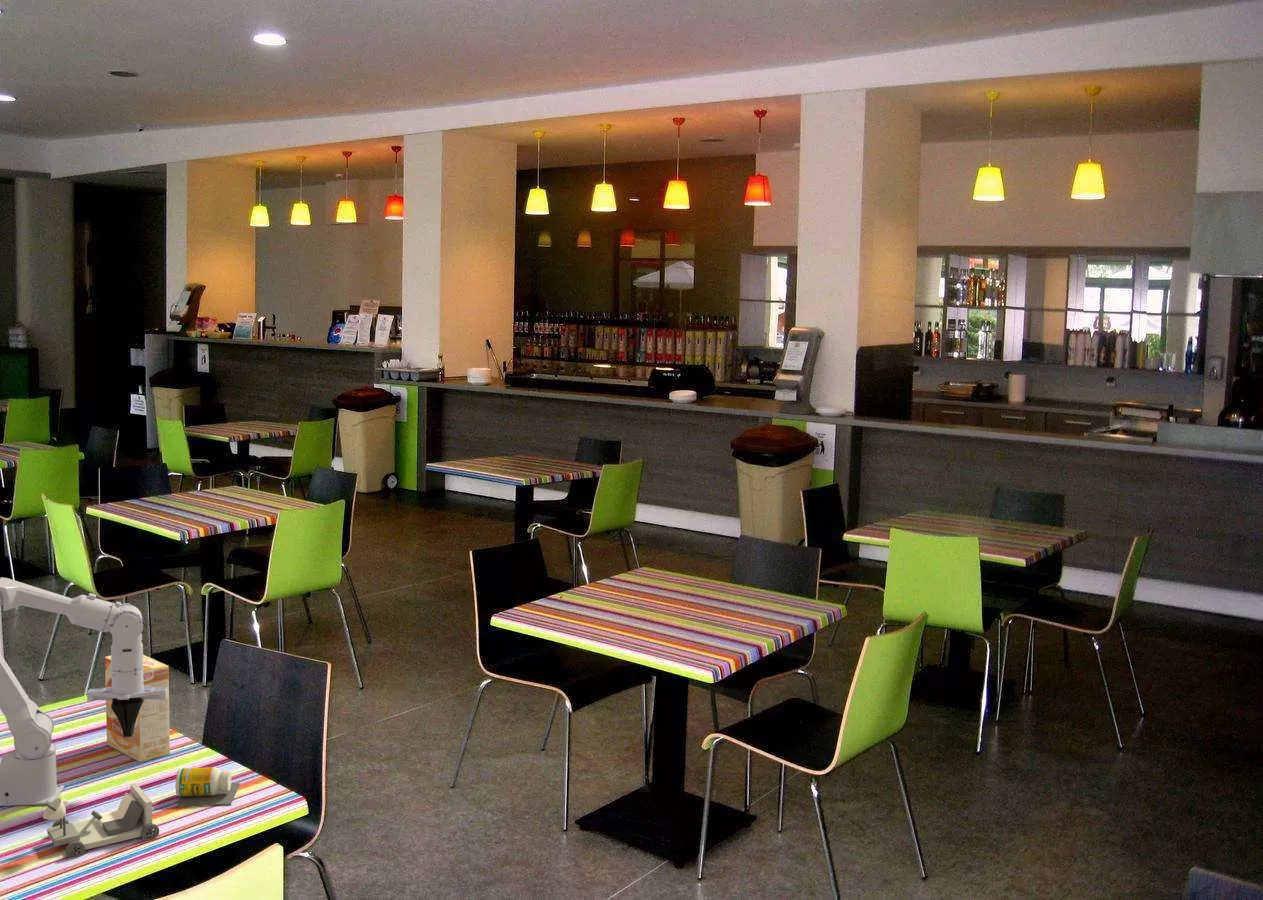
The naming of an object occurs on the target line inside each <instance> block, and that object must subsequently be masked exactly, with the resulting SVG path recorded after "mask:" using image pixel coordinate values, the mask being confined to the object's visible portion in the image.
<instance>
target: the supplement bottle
mask: <svg viewBox="0 0 1263 900" xmlns="http://www.w3.org/2000/svg"><path fill="white" fill-rule="evenodd" d="M174 783H175V795H176V796H177V797H179V798H180V797H186V796H214V795H216V794H217V793H218V792H219V790H221V791H223V792H228V791H230V788H231V783H232V770H229V769H223V770H222V771H221V770H220V768H218V767H216V766H213V767H211V766H210V767H184V768H183V767H182V768H179V769H178V770H177V772H176V777H175V782H174Z"/></svg>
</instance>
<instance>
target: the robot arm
mask: <svg viewBox="0 0 1263 900" xmlns="http://www.w3.org/2000/svg"><path fill="white" fill-rule="evenodd" d="M0 606H2V607H3V610H2V611H3V612H5V611H9V610H12V609H15V608H17V607H21V606H23V607H28V608H32V609H36V610H41V611H46V612H49V613H53V614H54V613H55V614H59V615H64V616H66V617H67V619H68V620H69V622H70V624H72V625H76V626H80V627H84V628H87V629H91V630H95V631H97V632H98V631H99V632H102V633H110V634H111V636H112V644H111V646H110V655H111V673H112V687H108V688H106V687H102V688H101V687H100V688H89V689H88V690H87V692H86V699H87V700H86V701H87V702H88V703H90V702H92V703H93V702H94V701H106V700H112V705H111V708H112V710H113V711H114V713H115V715H116V716H117V718H118V720H119V722H120V725H121V728H122V731H123V735H124V737H131V736H132V735H133V734H134V727H135V722H136V719H137V716H138V713H139V710H140V708H141V706H142V704H143V701H144V699H160V700H166V699H167V697H168V687H151V686H144V684H143V655H144V651H143V650H144V645H143V642H142V641H143V634H142V632H143V630H144V624H143V615H142V612H141V611H140V609H139V608H138V607H136V606H135V605H133V604H131V603H127V602H126V603H122V602H121V601H116V602H112V601H111V602H110V601H107V600H104V599H100V598H97V595H96V594H94V593H88V595H85V594H80V595H78V596H75V597H73V598H71V597H69V596H64V595H62V594H59V593H56V592H52V591H49V590H46V589H43V588H39V587H38V586H33V585H30V584H27V583H24V582H21V581H18V580H14V579H12V578H8V577H2V576H1V577H0ZM0 711H1V712H2V713H3V715H4V717H5V720H6V722H7V723H6V724H7V726H8V730H9V731H10V733H11V734H12V737H13V747H14V750H13V752H6V753H4V754H3V755H2V757H1V760H0V807H1V806H2V807H7V806H9V807H10V806H33V805H34V806H37V805H45V804H46V803H47V804H50V803H51V802H52V801H54V800H55V799H57V798H59V795H60V794H61V793H62V792H63V791H64V789H65V785H58V780H57V779H58V778H57V777H58V776H57V751H56V750H57V747H56V745H54V744H53V743H52V740H53V738H52V735H53V733H54V730H55V723H54V720H53V718H52V717H51V715H50V714H48V713H47V712H44V711H43V710H42V709H40V707H39V706H38V705H37V704H36V702H34V701H33V700H31V699H30V697H29V696H28V694H27V693H26V691H25V690H24V688H23V687H22V685H21V683H20V682H19V680H18V678H17V677H16V676H15V674H14V673H13V671H12V669H11V667H10V666H9V665H8V663H7V661H6V660H5V658H4V656H3V655H2V654H1V653H0Z"/></svg>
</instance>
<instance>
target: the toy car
mask: <svg viewBox="0 0 1263 900" xmlns="http://www.w3.org/2000/svg"><path fill="white" fill-rule="evenodd" d="M44 806H46V809H45V810H44V812H43V814H42V815H43V816H42V817H43V819H44V820H56V821H54V822H53V824H52V825H51V826H50V827H46V829H47V833H46V834H47V835H48V837H49V839H50V841H51V842H52V844H53V846H54V847H58V846H61V845H62V846H63V845H66V844H68V845H67V846H66V848H65V855H66V856H67V858H68V859H74V858H76V857H77V858H78V857H81V856H83V855H84V854H85V852H86V850H91V849H93V848H98V847H102V846H105V845H106V846H107V845H111V844H114V843H118V842H123V841H127V840H132V839H135V838H136V839H137V838H139V837H141V838H142V839H143V840H144V841H148V840H147V839H149V840H153V839H152V838H154V839H157V838H158V836H159V835H160V828H159V826H158V825H157V824H156V823H153V801H152V800H151V799H150V798H149V796H148V795H147V794H146V793H145V792H144V790H143V789H142V788H141V787H140V786H139V785H138V784H137V783H136V782H135V783H130V793H128V792H125V794H124V795H123V797H122V799H121V801H120V804H119V806H118V807H117V810H113V811H109V812H104V813H98V812H97V811H96V810H92V811H91V814H90V815H91V816H92V818H90V819H87V820H86V819H85V820H81V821H77V822H74V823H73V822H70V821H69V820H67V819H66V813H67V811H66V810H67V809H66V807H68V800H67V798H63V799H62V798H61V797H57V798H56V799H55V800H54V801H52V802H51V803H50V804H47V803H46V804H44ZM156 837H157V838H156Z"/></svg>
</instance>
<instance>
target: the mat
mask: <svg viewBox="0 0 1263 900" xmlns="http://www.w3.org/2000/svg"><path fill="white" fill-rule="evenodd" d="M240 785H241V783H240V782H231V788H230V791H228V792H223V791H221V790H219V792H218V793H217V794H216V795H214V796H186V797H179V799H178V800H177V801H178V802H177V803H176V805H175V808H187V807H188V808H190V807H189V806H194V807H204V806H203V805H221V806H232V804H233V802H232V801H234V800H235V797H234V796H236V794H237V791H238V790H237V789H239V788H240ZM231 803H232V804H231ZM181 806H182V807H181ZM183 806H184V807H183Z"/></svg>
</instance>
